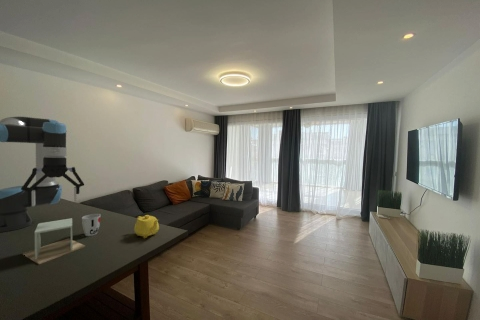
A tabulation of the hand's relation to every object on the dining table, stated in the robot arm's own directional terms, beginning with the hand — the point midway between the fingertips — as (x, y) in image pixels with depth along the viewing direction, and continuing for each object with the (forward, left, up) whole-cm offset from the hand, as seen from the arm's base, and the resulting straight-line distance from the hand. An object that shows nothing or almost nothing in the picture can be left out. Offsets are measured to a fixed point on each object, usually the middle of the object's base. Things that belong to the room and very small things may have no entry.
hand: (55, 203), depth 86 cm
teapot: (+23, +31, -22) cm, 44 cm away
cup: (-4, +17, -22) cm, 28 cm away
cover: (+1, 0, -21) cm, 21 cm away
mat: (+1, 0, -22) cm, 22 cm away
